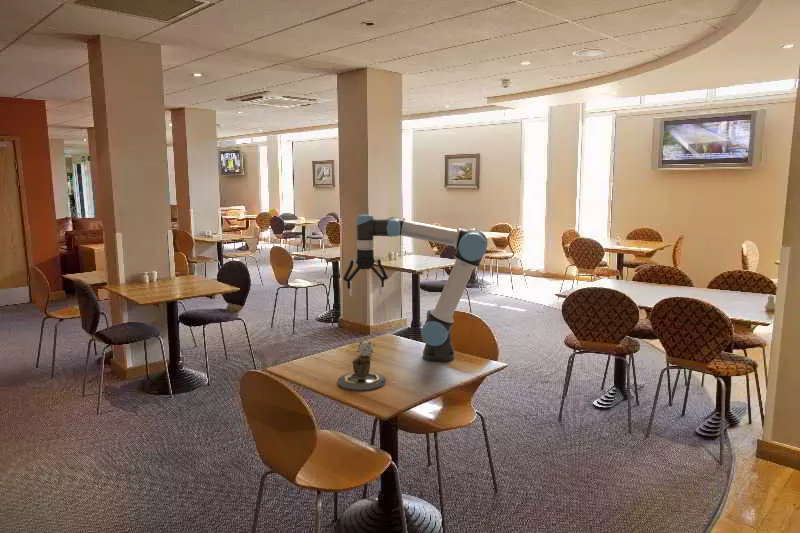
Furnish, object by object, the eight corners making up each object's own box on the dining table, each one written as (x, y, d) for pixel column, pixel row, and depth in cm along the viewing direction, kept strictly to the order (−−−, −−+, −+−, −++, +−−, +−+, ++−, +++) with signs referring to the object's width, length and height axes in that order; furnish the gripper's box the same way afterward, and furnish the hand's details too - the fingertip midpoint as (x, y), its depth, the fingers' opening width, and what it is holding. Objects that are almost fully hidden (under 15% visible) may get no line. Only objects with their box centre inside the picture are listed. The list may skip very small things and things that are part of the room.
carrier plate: (381, 372, 257) (381, 368, 257) (389, 388, 238) (389, 384, 237) (335, 376, 253) (335, 371, 253) (340, 392, 234) (340, 387, 233)
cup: (349, 381, 243) (349, 362, 242) (357, 375, 250) (356, 357, 248) (366, 383, 240) (366, 364, 239) (373, 377, 247) (373, 359, 246)
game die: (364, 362, 283) (366, 343, 288) (377, 359, 278) (379, 340, 283) (351, 357, 277) (354, 337, 282) (364, 354, 272) (366, 334, 277)
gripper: (390, 247, 271) (390, 292, 274) (336, 248, 266) (337, 294, 269) (393, 249, 264) (394, 295, 267) (338, 250, 258) (339, 297, 262)
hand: (365, 295), depth 268 cm, fingers open, 13 cm apart
